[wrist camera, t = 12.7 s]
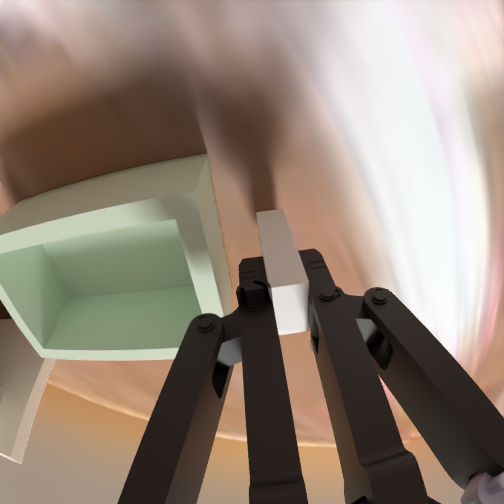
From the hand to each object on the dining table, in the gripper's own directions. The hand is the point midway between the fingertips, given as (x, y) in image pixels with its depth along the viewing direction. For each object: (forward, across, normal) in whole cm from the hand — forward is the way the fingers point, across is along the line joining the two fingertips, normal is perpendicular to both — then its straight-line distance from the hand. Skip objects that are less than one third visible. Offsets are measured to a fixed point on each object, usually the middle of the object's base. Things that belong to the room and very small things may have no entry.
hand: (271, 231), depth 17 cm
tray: (+2, -10, 0) cm, 10 cm away
